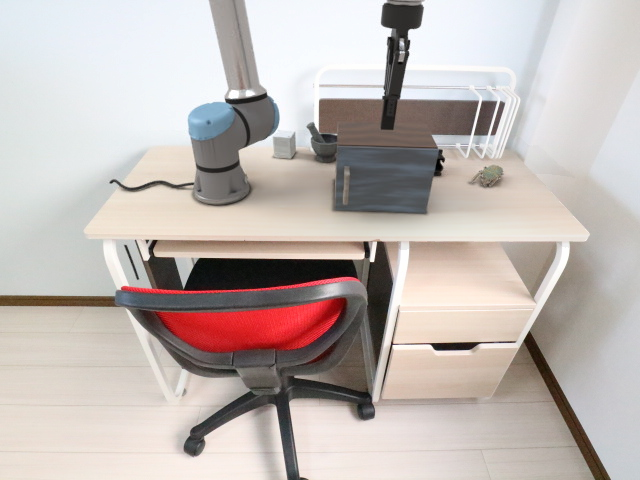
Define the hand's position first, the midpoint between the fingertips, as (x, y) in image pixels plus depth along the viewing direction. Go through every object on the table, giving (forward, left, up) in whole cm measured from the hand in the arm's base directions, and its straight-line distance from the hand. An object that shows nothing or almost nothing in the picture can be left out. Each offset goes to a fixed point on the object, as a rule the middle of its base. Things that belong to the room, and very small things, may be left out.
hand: (386, 128), depth 84 cm
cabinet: (+1, +13, -24) cm, 28 cm away
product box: (-28, +38, -24) cm, 53 cm away
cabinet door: (+1, +2, -24) cm, 24 cm away
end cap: (+17, +29, -24) cm, 42 cm away
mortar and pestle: (-15, +36, -24) cm, 46 cm away
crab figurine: (+35, +24, -24) cm, 49 cm away
